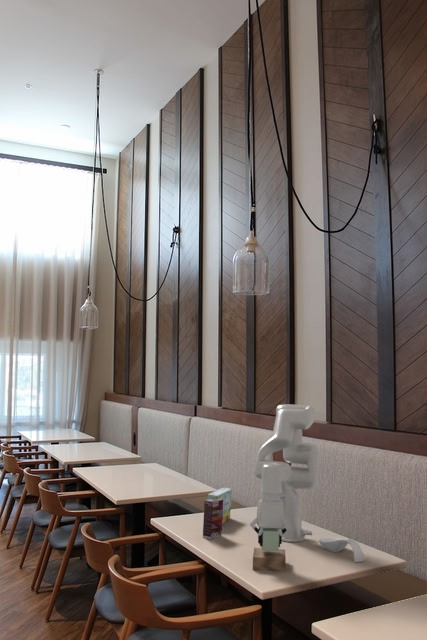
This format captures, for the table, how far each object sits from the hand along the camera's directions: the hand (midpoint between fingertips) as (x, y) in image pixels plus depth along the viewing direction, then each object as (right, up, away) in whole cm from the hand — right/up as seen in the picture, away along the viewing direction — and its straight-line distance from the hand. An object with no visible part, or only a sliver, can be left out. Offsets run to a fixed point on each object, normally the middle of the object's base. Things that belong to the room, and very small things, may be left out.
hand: (269, 545), depth 212 cm
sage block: (0, -1, 0) cm, 1 cm away
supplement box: (-22, -11, +36) cm, 44 cm away
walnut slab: (0, -8, -1) cm, 8 cm away
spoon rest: (+32, -11, +19) cm, 39 cm away
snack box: (-19, -14, +61) cm, 65 cm away
